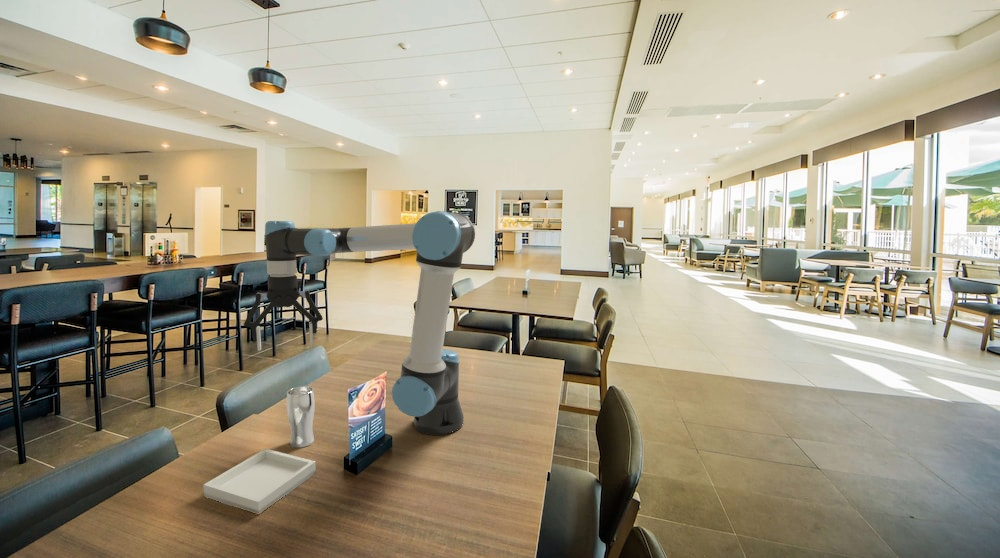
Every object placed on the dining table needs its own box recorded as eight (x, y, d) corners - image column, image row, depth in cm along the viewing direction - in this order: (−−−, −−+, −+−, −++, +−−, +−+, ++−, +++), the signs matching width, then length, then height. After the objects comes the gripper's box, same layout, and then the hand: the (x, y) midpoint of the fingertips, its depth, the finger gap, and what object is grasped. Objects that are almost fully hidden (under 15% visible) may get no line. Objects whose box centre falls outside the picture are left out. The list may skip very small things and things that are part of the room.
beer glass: (305, 450, 111) (303, 397, 109) (282, 446, 113) (280, 394, 111) (321, 437, 118) (319, 387, 116) (299, 434, 120) (297, 384, 118)
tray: (316, 472, 102) (315, 461, 101) (259, 515, 87) (258, 502, 86) (266, 459, 107) (265, 448, 106) (204, 497, 92) (203, 484, 91)
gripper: (328, 272, 128) (330, 338, 131) (232, 275, 117) (237, 348, 120) (330, 274, 121) (332, 345, 124) (229, 278, 110) (234, 355, 113)
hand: (286, 346), depth 122 cm, fingers open, 13 cm apart
